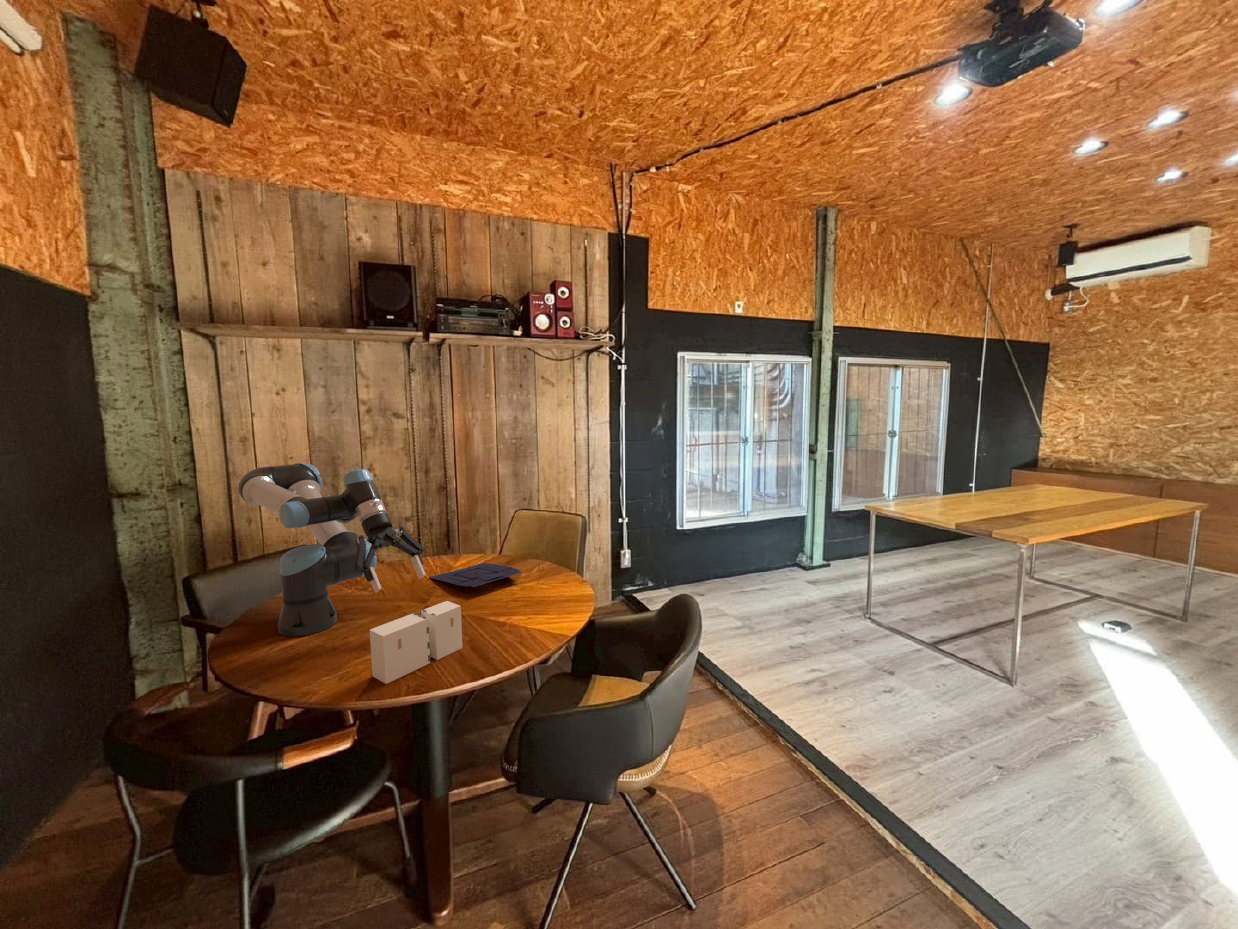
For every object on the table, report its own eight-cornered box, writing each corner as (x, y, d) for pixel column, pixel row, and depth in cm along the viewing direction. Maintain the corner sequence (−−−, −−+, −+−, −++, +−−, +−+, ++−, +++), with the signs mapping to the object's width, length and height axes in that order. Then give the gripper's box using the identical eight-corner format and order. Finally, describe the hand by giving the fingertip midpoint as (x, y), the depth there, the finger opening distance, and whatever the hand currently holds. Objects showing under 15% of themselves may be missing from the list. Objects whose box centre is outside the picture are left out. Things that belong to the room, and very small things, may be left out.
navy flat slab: (470, 596, 173) (469, 585, 173) (428, 584, 194) (427, 575, 194) (528, 578, 191) (527, 568, 191) (485, 569, 211) (484, 560, 211)
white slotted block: (372, 676, 126) (369, 628, 124) (416, 656, 136) (414, 612, 134) (386, 684, 122) (383, 635, 121) (430, 663, 132) (428, 618, 130)
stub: (423, 653, 137) (421, 610, 136) (448, 641, 144) (446, 600, 142) (437, 660, 134) (435, 615, 132) (462, 648, 140) (460, 605, 139)
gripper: (335, 520, 139) (363, 591, 134) (418, 504, 159) (445, 566, 154) (325, 532, 143) (352, 602, 138) (407, 516, 163) (433, 576, 158)
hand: (401, 583), depth 146 cm, fingers open, 13 cm apart
